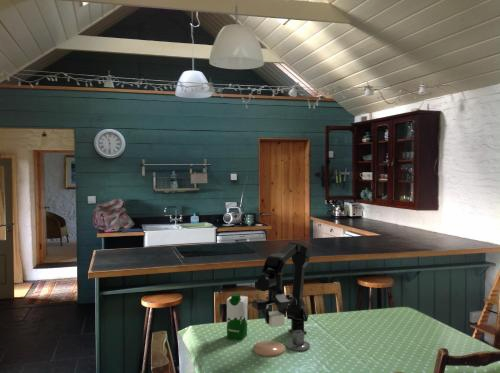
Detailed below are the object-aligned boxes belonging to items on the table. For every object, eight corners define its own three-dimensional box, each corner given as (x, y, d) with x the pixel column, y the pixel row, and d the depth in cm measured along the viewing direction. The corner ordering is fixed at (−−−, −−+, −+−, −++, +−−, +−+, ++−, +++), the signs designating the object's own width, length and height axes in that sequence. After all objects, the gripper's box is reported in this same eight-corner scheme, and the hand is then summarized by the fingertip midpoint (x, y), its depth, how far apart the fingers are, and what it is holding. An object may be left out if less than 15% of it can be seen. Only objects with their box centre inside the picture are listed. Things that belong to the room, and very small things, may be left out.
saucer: (248, 346, 186) (248, 343, 186) (275, 341, 191) (275, 339, 191) (261, 358, 174) (262, 355, 174) (290, 353, 180) (290, 350, 179)
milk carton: (224, 339, 193) (224, 295, 192) (231, 332, 202) (232, 289, 201) (242, 342, 191) (243, 297, 190) (249, 334, 199) (249, 291, 198)
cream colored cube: (264, 322, 184) (265, 312, 184) (277, 320, 186) (277, 310, 186) (271, 327, 178) (271, 316, 178) (284, 325, 181) (284, 314, 181)
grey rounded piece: (282, 344, 189) (282, 329, 188) (302, 340, 193) (302, 326, 193) (293, 353, 180) (294, 337, 179) (314, 349, 184) (314, 334, 184)
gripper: (264, 293, 171) (263, 332, 171) (304, 288, 179) (303, 325, 179) (251, 286, 181) (251, 323, 181) (290, 281, 189) (289, 317, 189)
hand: (274, 322), depth 182 cm, fingers closed on cream colored cube, 6 cm apart
